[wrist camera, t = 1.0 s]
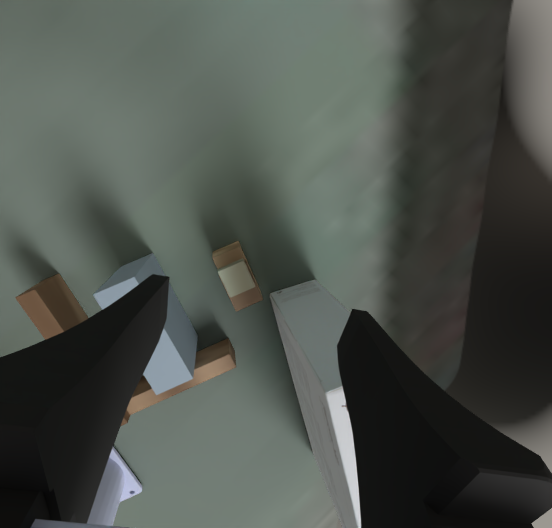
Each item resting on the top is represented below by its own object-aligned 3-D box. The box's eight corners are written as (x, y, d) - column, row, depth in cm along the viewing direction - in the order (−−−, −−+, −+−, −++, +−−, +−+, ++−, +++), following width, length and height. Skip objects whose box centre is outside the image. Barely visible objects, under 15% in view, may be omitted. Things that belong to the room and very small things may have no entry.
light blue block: (168, 348, 32) (156, 395, 25) (121, 266, 29) (92, 294, 22) (197, 335, 32) (193, 378, 25) (153, 252, 29) (134, 276, 23)
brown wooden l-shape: (122, 400, 32) (110, 430, 29) (41, 280, 28) (14, 297, 24) (234, 350, 33) (236, 373, 29) (171, 226, 29) (164, 234, 25)
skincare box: (357, 439, 39) (446, 609, 24) (313, 454, 38) (375, 638, 23) (321, 274, 32) (412, 365, 17) (267, 290, 32) (313, 398, 17)
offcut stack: (235, 298, 32) (237, 318, 27) (212, 251, 30) (212, 264, 26) (259, 287, 32) (265, 305, 27) (238, 240, 30) (241, 252, 26)
